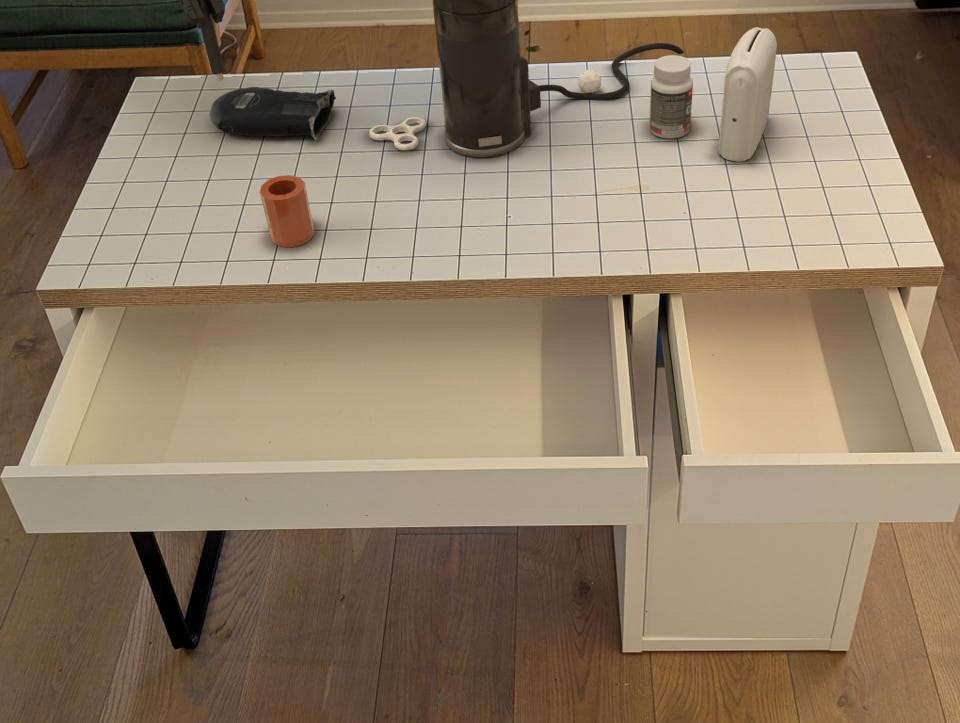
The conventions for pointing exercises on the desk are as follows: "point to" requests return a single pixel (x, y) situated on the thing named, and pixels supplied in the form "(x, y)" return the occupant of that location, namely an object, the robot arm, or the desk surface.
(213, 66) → the dark grey rod
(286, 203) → the pen holder
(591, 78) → the polyhedron
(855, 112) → the desk surface
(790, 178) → the desk surface
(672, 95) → the pill bottle
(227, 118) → the electronic device
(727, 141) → the photo printer
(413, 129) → the fidget spinner
